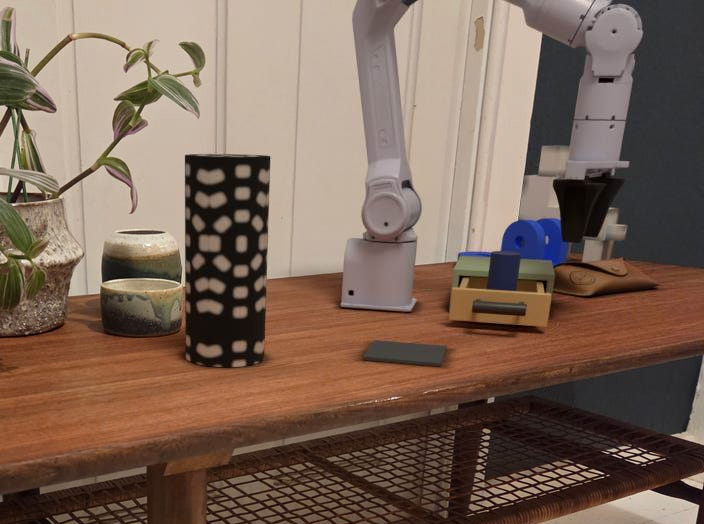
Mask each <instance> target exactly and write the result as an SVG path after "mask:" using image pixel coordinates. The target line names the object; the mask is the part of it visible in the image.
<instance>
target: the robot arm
mask: <svg viewBox="0 0 704 524" xmlns="http://www.w3.org/2000/svg"><path fill="white" fill-rule="evenodd" d="M418 1H419V0H356V3H355V6H354V8H353V11H352V14H351V15H352V18H351V22H352V23H351V25H352V32H353V41H354V49H355V58H356V66H357V67H356V68H357V76H358V77H357V78H358V85H359V94H360V95H359V96H360V104H361V112H362V123H363V130H364V140H365V146H366V147H365V148H366V156H367V171H366V176H365V179H364V181H365V182H364V186H365V187H364V188H365V198H364V200H363V204H362V207H361V214H360V215H361V216H360V217H361V222H362V225H363V227H364V229H365V230H366V231H364V232H363V233H362V237H350V238H348V239H347V241H346V244H345V249H344V255H343V265H342V266H343V267H342V282H341V283H342V284H341V299H340V301H341V302H340V305H339V306H340V307H341V308H350V309H351V308H352V309H361V310H363V309H364V310H376V311H377V310H378V311H393V312H406V313H410V312H412V311H413V309H414V308H415V306H416V304H417V303H418V298H414V297H413V293H414V292H413V291H414V282H415V280H414V279H415V269H416V258H417V249H418V248H417V247H418V239H419V236H418V235H417V234H416V232H415V230H414V228H413V227H414V226H416V225H417V223H418V222H419V220H420V218H421V215H422V211H423V203H422V199H421V197H420V195H419V193H418V191H417V190H416V188H415V187H414V182H413V176H412V171H411V168H410V164H409V161H408V159H407V158H408V157H407V148H406V139H405V137H406V136H405V128H404V118H403V108H402V98H401V87H400V77H399V68H398V57H397V56H398V55H397V46H396V38H395V37H396V36H395V28H396V26H397V24H398V23H399V22H400V21H401V19H402V18H403V16H404V15H405V14H406V13H407V11H408V10H409V9H410V7H411V6H412V5H414V4H415V3H417V2H418ZM503 1H504V2H506V3H508V4H510V5H513V6H515V7H517V8H520V9H521V10H522V13H523V18H524V23H525V25H526V27H529V28H531V29H533V30H535V31H537V32H539V33H541V34H544V35H546V36H547V37H549V38H552V39H554V40H556V41H558V42H561V43H562V44H565V45H567V46H568V47H570V48H572V49H576V48H579V47H585V51H586V53H587V54H586V55H585V62H584V69H583V75H582V76H581V78H580V79H579V85H578V91H577V98H576V105H575V109H574V110H575V112H574V117H573V124H572V130H571V137H570V143H569V146H570V149H569V156H568V160H566V164H565V166H566V173H565V179H554V180H553V188H554V191H555V193H556V196H557V200H558V204H559V210H560V221H561V236H562V242H571V244H572V243H573V244H581V243H582V241H583V237H598V235H599V233H600V231H601V228H602V226H603V223H604V220H605V218H606V215H607V212H608V210H609V208H611V206H612V203H613V201H614V199H615V197H616V196H617V194H618V193H619V191H620V189H622V188H623V186H624V184H625V181H626V178H625V177H613V176H615V171H616V169H620V168H621V169H627V168H629V166H630V161H628V160H627V161H626V160H620V158H621V157H620V156H621V151H622V144H623V138H624V133H625V129H626V123H627V117H628V110H629V105H630V101H631V100H630V99H631V93H632V88H633V87H632V86H633V81H634V79H633V76H632V73H633V71H634V69H635V65H636V59H635V53H633V52H635V50H636V49H637V47H638V46H639V45H640V42H641V41H642V38H643V35H644V31H643V23H642V18H641V16H640V14H639V13H638V11H637V10H636V9H635V8H634V7H631V6H630V5H627V4H623V3H617V4H611V3H612V1H613V0H503Z"/></svg>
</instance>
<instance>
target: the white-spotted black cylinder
mask: <svg viewBox="0 0 704 524" xmlns="http://www.w3.org/2000/svg"><path fill="white" fill-rule="evenodd" d="M270 181H271V156H270V155H264V154H243V153H242V154H241V153H240V154H239V153H237V154H236V153H235V154H234V153H194V154H193V153H192V154H191V153H189V154H184V268H185V269H184V295H185V296H184V310H185V311H184V315H185V317H184V319H185V320H184V321H185V322H184V324H185V327H184V329H185V330H184V331H185V332H184V334H185V337H184V338H185V339H184V340H185V343H184V344H185V356H184V357H185V359H186V360H187V361H188V362H191V363H192V364H196V365H199V366H205V367H213V368H241V367H248V366H253V365H257V364H259V363H261V362H263V361H264V360H265V351H266V350H265V349H266V347H265V345H266V318H267V317H266V315H267V313H266V312H267V285H268V284H267V280H268V279H267V278H268V277H267V276H268V254H269V253H268V251H269V249H268V248H269V221H270V220H269V219H270V216H269V215H270V214H269V213H270V188H271V187H270V185H271V183H270Z"/></svg>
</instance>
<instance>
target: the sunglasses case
mask: <svg viewBox="0 0 704 524" xmlns="http://www.w3.org/2000/svg"><path fill="white" fill-rule="evenodd" d="M553 269H554V273H555V279H554V285H553V292H555V293H559V294H563V295H568V296H579V297H586V296H587V297H590V296H595V295H603V294H604V295H605V294H617V293H629V292H638V291H639V292H640V291H645V290H648V289H652V288H656V287H659V286H662V284H660V283H659V282H658V281H656V280H655V279H654V278H652V277H650V276H649V275H647V274H645V272H643V271H642V270H640V269H638V268H636V267H635V266H634V265H632V264H631V263H629V262H627V261H626V257H623V256H622V257H620V258H615V259H611V260H600V261H588V262H582V261H569V262H564V263H559V264H557V265H555V266H553Z"/></svg>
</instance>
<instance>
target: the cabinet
mask: <svg viewBox="0 0 704 524" xmlns="http://www.w3.org/2000/svg"><path fill="white" fill-rule="evenodd" d="M457 259H458V258H457ZM489 265H490V257H475V256H460V257H459V259H458V261H457V260H456V263H455V266H454V268H453V271H452V280H451V290H450V298H449V306H450V305H451V296H452V289H453V287H457V288H459V287H460V285H461V282H462V280H463V277H464V276H477V277H488V273H489ZM518 279H528V280H543V287H544V293H551V300H552V298H553V297H552V296H553V292H554V291H553V285H554V279H555V273H554V269H553V264H552V261H551V260H532V259H521V260H520V267H519V275H518ZM551 304H552V301H551V302H550V306H551ZM448 311H449V312H450V307H449V308H448ZM550 311H551V308H550V309H549V313H550ZM549 317H550V314H549V315H548V319H549Z"/></svg>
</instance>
